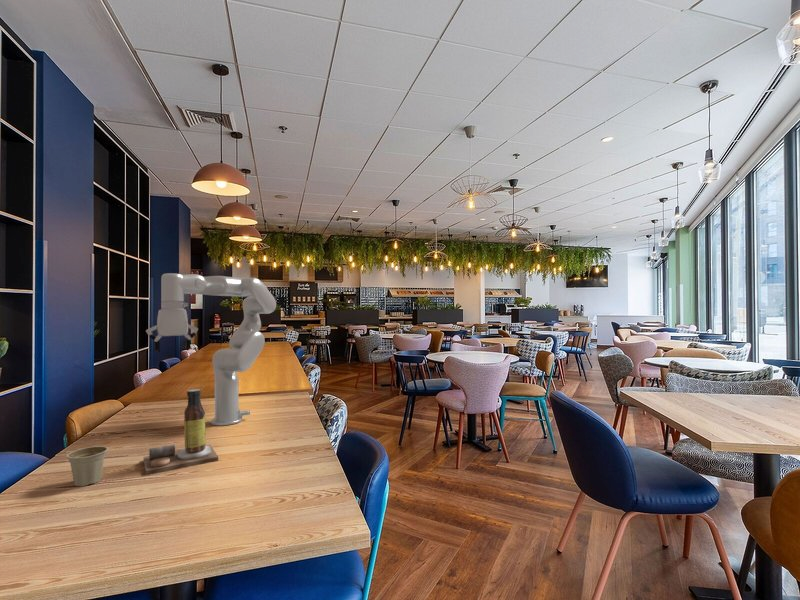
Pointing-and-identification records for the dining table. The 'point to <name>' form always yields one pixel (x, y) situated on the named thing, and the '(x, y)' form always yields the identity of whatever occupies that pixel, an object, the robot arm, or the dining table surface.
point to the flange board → (176, 458)
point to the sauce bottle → (194, 423)
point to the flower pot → (87, 465)
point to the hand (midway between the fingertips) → (172, 351)
